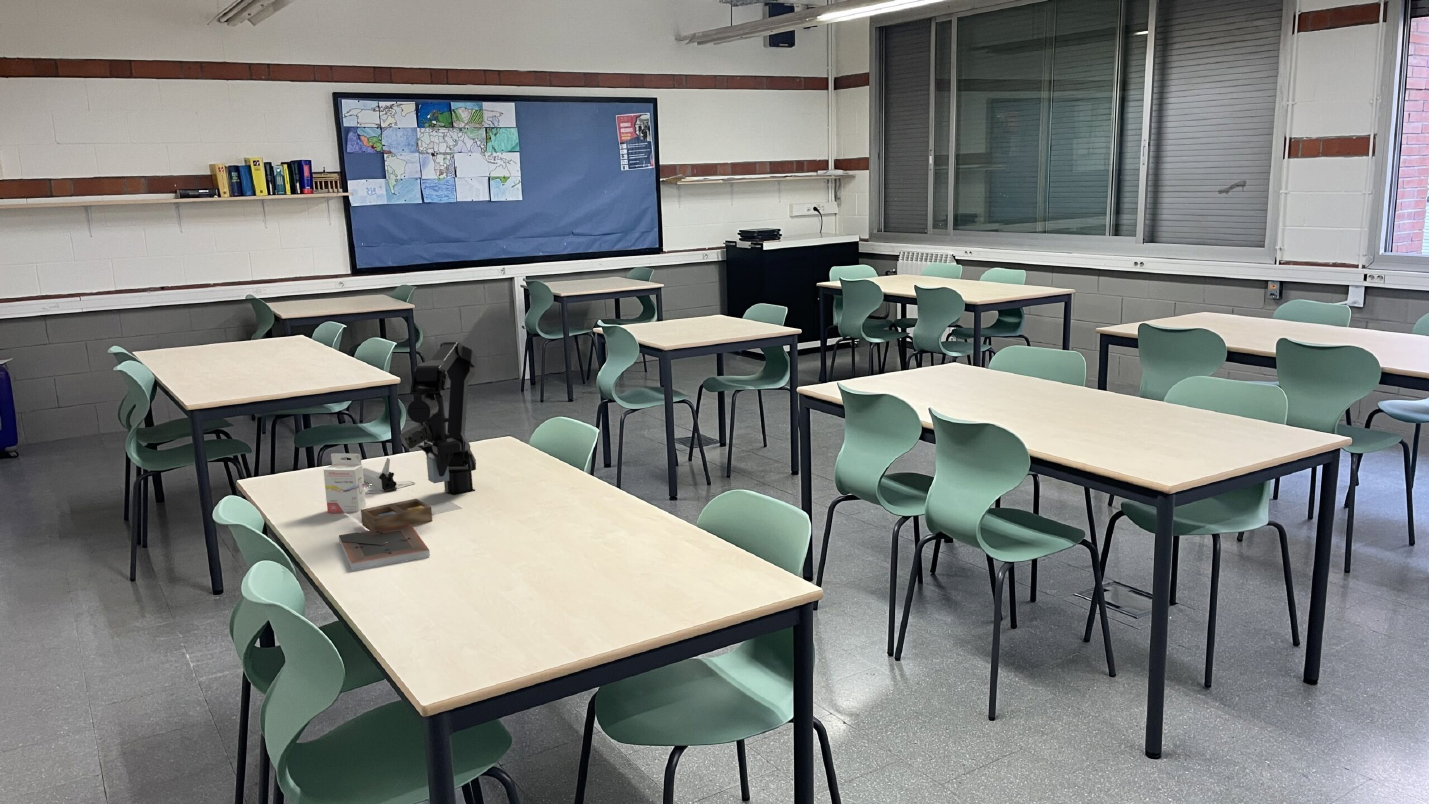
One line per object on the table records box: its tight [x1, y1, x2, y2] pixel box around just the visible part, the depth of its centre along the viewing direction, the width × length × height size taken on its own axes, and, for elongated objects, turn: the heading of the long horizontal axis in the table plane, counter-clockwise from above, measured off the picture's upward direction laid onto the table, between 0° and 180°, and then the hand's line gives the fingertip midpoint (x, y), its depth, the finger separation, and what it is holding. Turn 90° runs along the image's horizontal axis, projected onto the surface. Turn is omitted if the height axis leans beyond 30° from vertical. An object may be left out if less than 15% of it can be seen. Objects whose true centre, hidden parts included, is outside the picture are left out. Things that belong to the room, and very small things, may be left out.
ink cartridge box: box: [323, 453, 367, 514], centre depth 261 cm, size 9×5×15 cm, turn 84°
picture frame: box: [338, 524, 431, 572], centre depth 233 cm, size 16×2×22 cm
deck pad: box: [429, 501, 463, 516], centre depth 261 cm, size 8×8×1 cm
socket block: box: [360, 498, 433, 531], centre depth 250 cm, size 14×10×4 cm
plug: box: [425, 453, 450, 484], centre depth 259 cm, size 4×4×7 cm
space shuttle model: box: [363, 457, 416, 495], centre depth 287 cm, size 16×25×10 cm, turn 38°
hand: (438, 474), depth 259 cm, fingers closed on plug, 4 cm apart
